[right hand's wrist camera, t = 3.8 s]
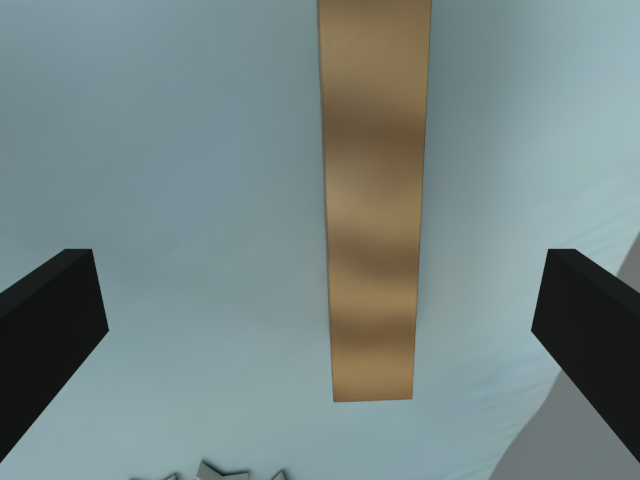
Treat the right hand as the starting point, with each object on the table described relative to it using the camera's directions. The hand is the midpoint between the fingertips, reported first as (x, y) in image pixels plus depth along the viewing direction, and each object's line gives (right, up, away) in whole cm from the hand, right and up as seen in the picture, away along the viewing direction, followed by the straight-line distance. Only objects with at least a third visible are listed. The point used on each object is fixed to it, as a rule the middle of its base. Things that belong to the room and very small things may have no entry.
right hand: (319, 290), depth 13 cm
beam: (+2, +19, +11) cm, 22 cm away
